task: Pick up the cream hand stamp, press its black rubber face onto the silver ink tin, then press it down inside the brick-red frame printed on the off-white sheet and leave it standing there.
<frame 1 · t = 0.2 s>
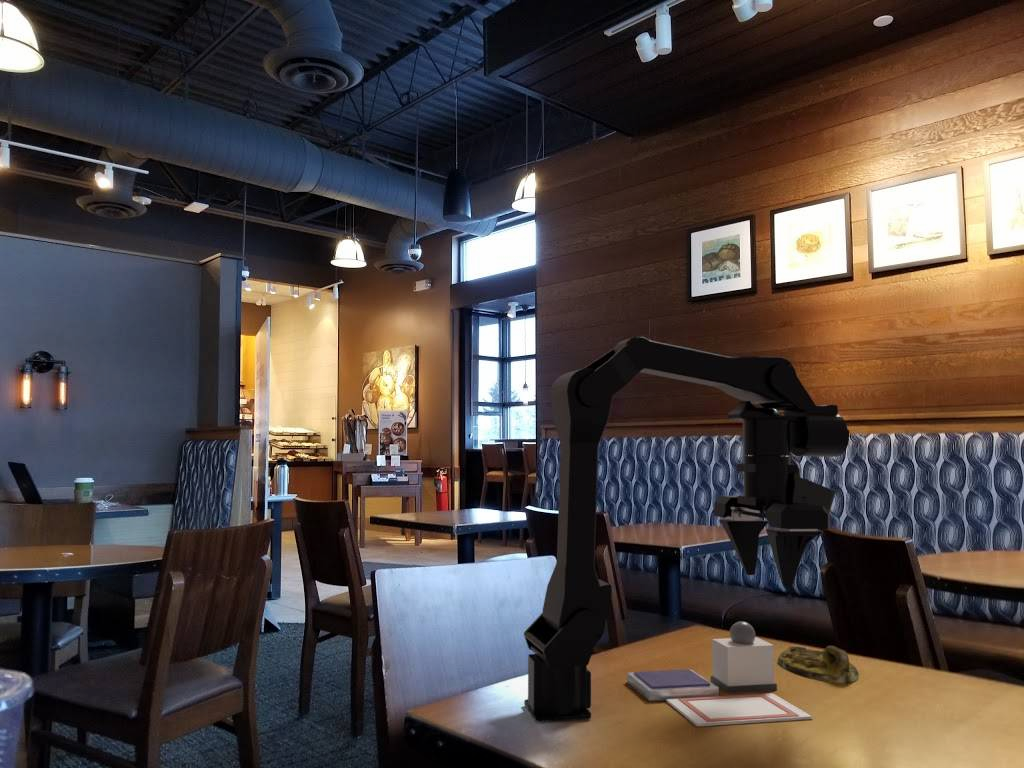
hand: (768, 580, 99), 14 cm above the table, tool pointing down, fingers open, 9 cm apart
stamp: (743, 686, 102), on the table
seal: (817, 672, 111), on the table
ink pad: (671, 689, 100), on the table
sheet: (736, 710, 92), on the table
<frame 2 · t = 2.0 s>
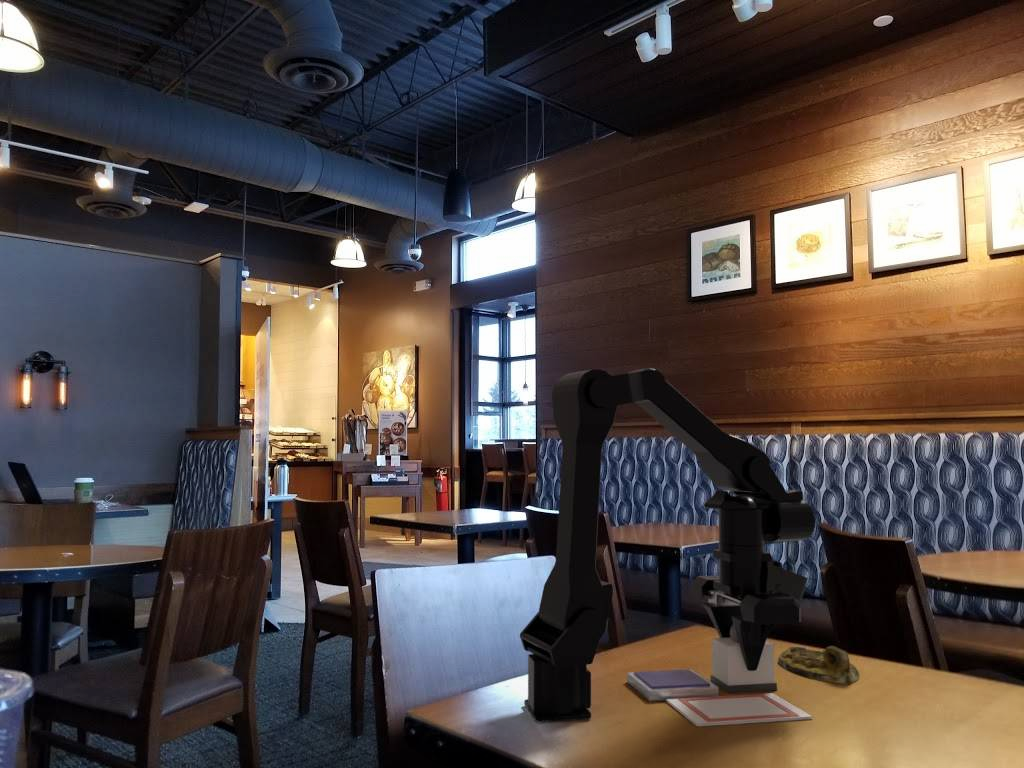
hand: (742, 665, 102), 3 cm above the table, tool pointing down, fingers closed on stamp, 4 cm apart
stamp: (743, 685, 102), on the table, touching gripper
everything else where it was.
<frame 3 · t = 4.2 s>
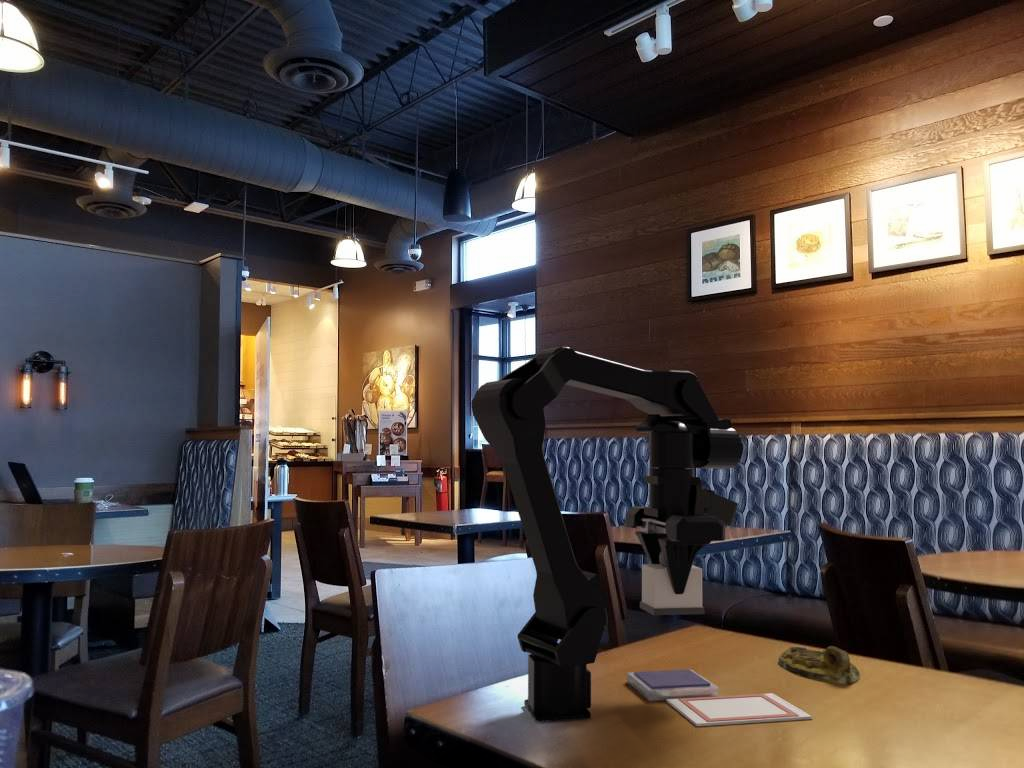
hand: (671, 590, 101), 12 cm above the table, tool pointing down, fingers closed on stamp, 4 cm apart
stamp: (671, 610, 101), point 10 cm above the table, touching gripper
everything else where it was.
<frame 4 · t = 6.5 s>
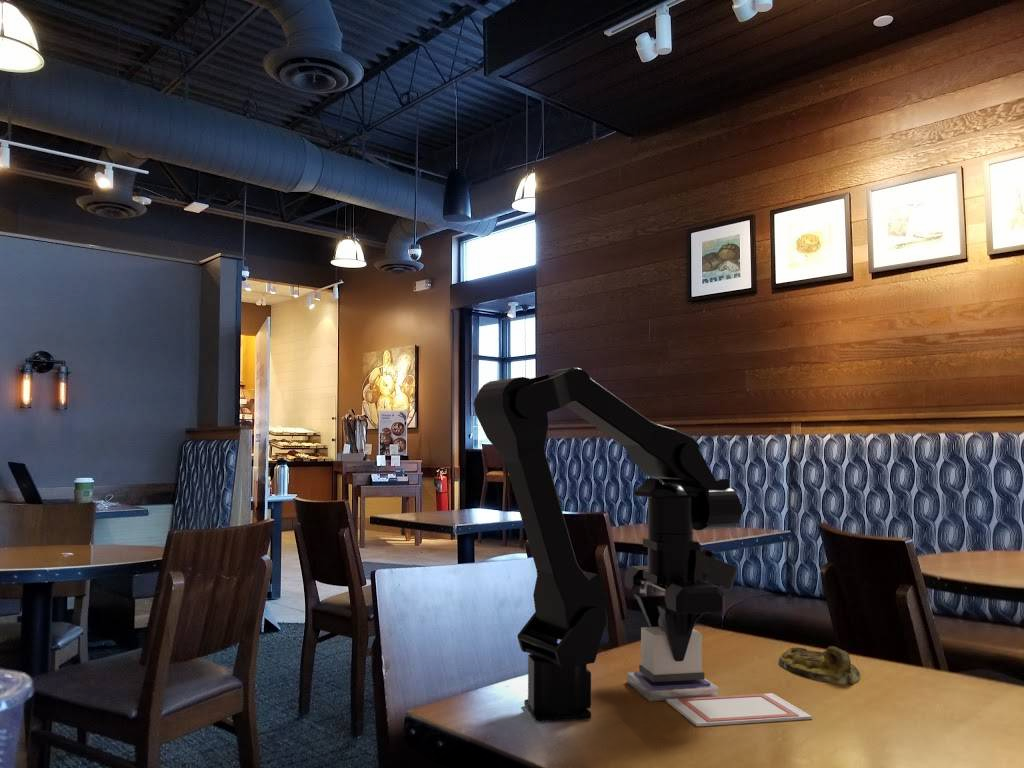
hand: (671, 656, 101), 4 cm above the table, tool pointing down, fingers closed on stamp, 4 cm apart
stamp: (671, 675, 100), point 2 cm above the table, touching gripper
everything else where it was.
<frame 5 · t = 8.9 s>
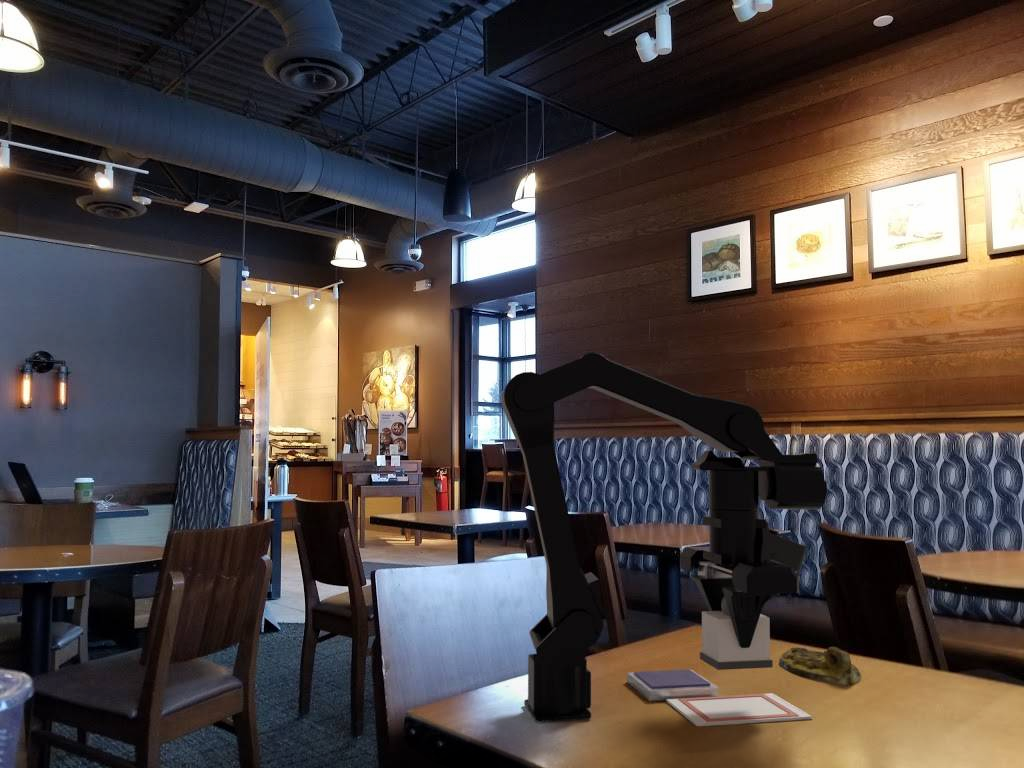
hand: (735, 642, 93), 8 cm above the table, tool pointing down, fingers closed on stamp, 4 cm apart
stamp: (735, 663, 93), point 5 cm above the table, touching gripper
everything else where it was.
when the fingers open (4 cm above the table, at t = 11.2 s): stamp stays where it is, resting on sheet.
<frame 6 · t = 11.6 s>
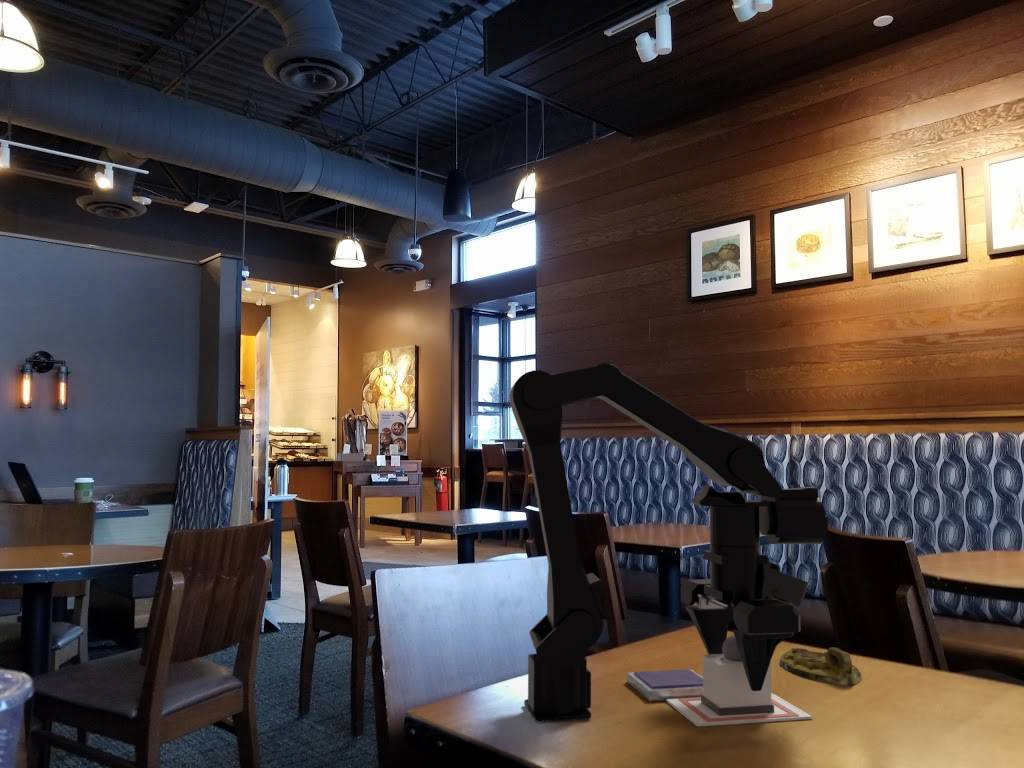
hand: (736, 678, 93), 4 cm above the table, tool pointing down, fingers open, 9 cm apart
stamp: (736, 707, 92), resting on sheet
everything else where it was.
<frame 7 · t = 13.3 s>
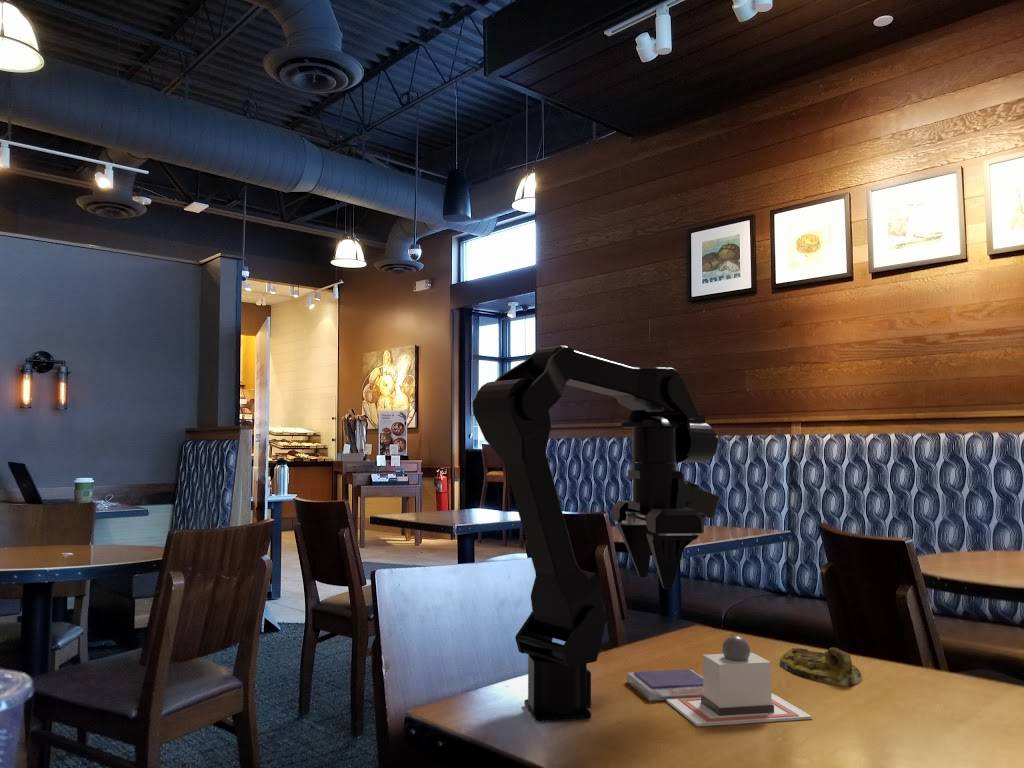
hand: (654, 582, 103), 13 cm above the table, tool pointing down, fingers open, 9 cm apart
nothing on the table moved.
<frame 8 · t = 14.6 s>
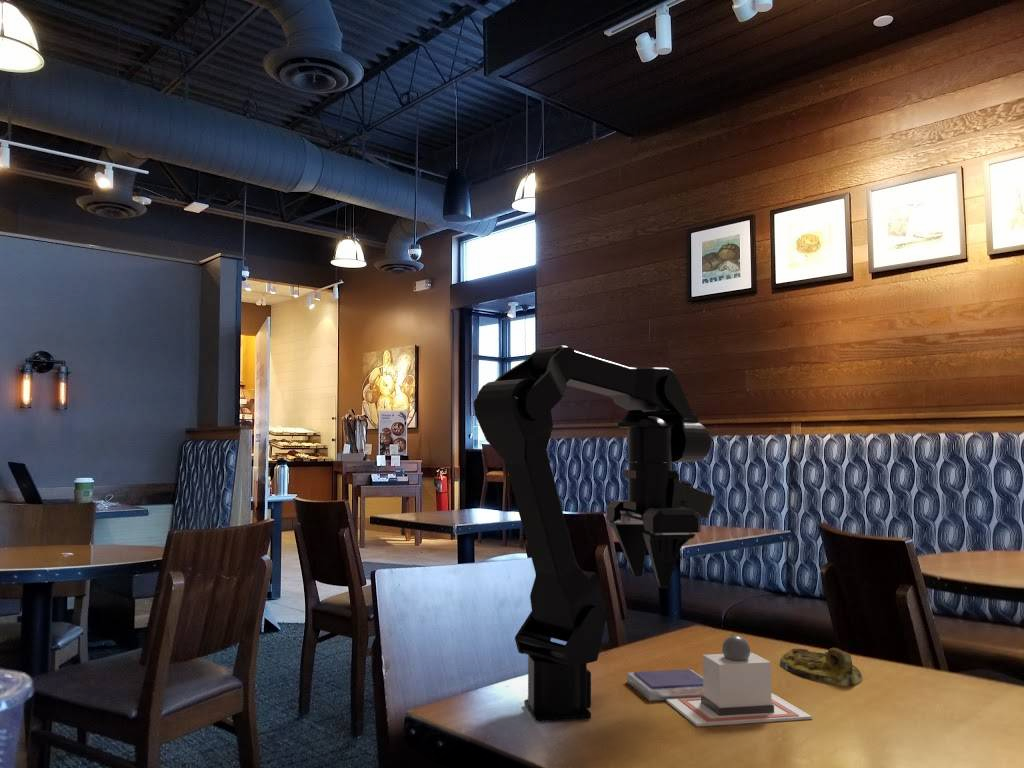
hand: (650, 581, 104), 13 cm above the table, tool pointing down, fingers open, 9 cm apart
at the end: stamp 0.0 cm off-centre on the sheet, point 0.3 cm above the sheet's base; stamp tilted 0°; the gripper is holding nothing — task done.
